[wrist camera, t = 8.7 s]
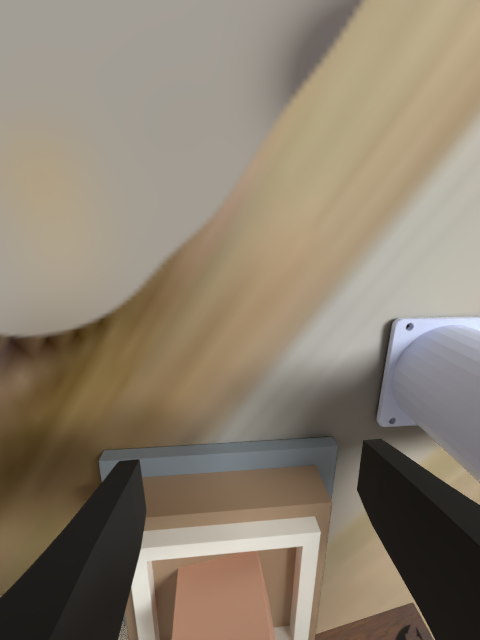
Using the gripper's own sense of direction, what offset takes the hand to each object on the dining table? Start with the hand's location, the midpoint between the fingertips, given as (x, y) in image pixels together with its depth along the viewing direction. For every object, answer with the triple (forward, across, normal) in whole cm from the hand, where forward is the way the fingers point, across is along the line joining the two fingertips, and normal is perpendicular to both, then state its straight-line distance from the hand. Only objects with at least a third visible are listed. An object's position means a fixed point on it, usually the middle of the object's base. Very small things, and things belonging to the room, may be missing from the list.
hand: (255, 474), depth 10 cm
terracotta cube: (+6, +1, +14) cm, 16 cm away
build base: (+10, +1, +15) cm, 18 cm away
